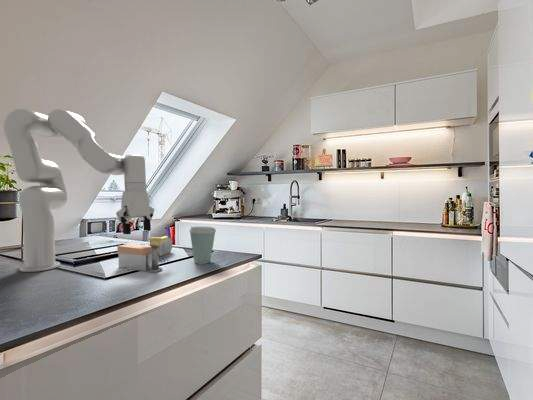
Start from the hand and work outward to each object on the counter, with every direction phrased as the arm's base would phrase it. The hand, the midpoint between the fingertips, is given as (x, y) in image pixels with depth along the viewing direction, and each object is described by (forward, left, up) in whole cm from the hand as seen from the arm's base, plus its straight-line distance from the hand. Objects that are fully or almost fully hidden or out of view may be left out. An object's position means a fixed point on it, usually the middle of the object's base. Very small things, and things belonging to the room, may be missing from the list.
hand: (137, 232), depth 117 cm
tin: (-8, +22, -14) cm, 27 cm away
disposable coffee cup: (+17, +18, -14) cm, 29 cm away
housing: (+2, 0, -14) cm, 14 cm away
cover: (-1, 0, -8) cm, 8 cm away
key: (+8, +3, -4) cm, 10 cm away
